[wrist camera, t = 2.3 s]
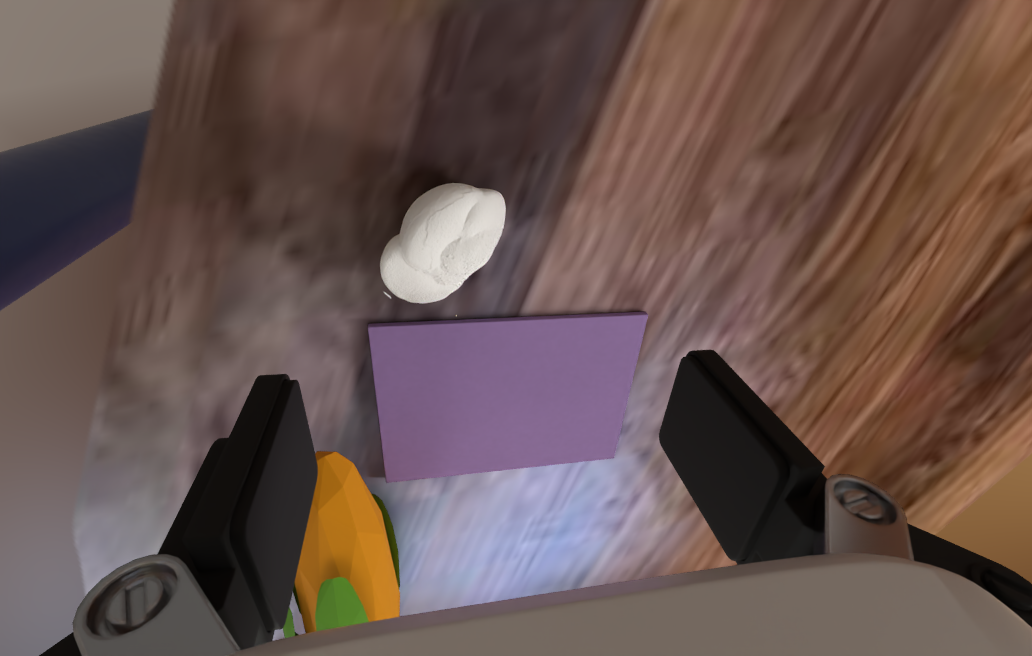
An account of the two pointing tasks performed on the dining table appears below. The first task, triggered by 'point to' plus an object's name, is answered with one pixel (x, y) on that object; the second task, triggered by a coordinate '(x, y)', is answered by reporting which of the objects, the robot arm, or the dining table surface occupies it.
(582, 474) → the dining table surface
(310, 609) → the corn
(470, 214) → the dumpling
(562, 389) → the cloth
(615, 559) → the dining table surface
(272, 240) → the dining table surface
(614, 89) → the dining table surface
